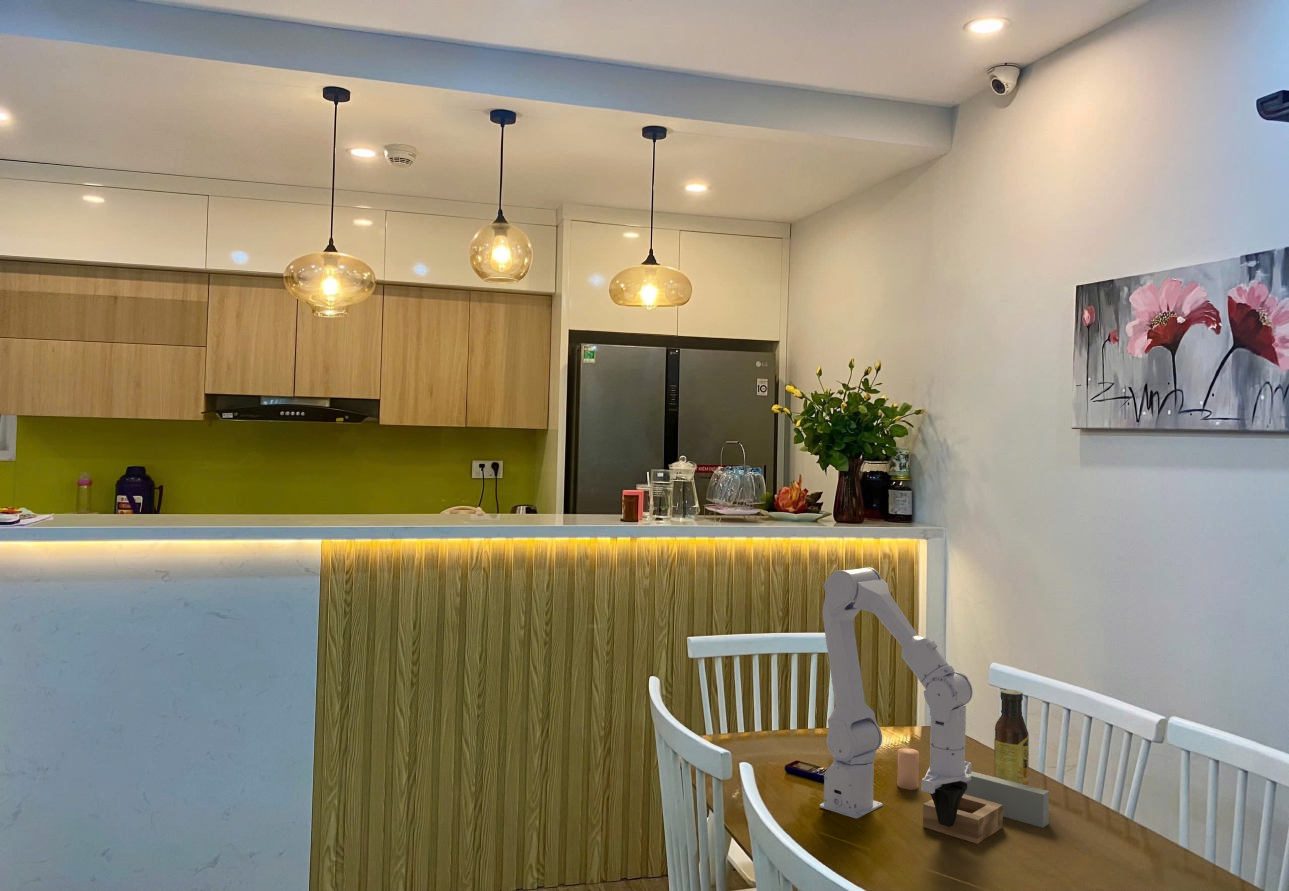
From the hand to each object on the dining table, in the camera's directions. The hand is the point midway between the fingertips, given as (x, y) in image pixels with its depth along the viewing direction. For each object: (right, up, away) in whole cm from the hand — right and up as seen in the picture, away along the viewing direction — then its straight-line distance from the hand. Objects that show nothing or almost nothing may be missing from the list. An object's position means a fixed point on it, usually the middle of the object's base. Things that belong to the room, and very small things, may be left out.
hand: (946, 824), depth 162 cm
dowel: (0, -3, +25) cm, 25 cm away
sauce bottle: (+20, -3, +22) cm, 30 cm away
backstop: (+12, -3, +13) cm, 18 cm away
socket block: (+4, -2, +5) cm, 7 cm away
